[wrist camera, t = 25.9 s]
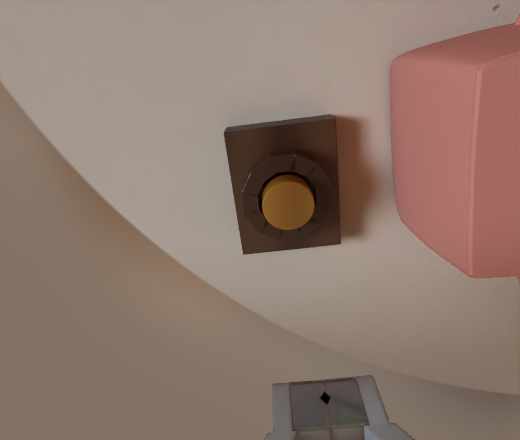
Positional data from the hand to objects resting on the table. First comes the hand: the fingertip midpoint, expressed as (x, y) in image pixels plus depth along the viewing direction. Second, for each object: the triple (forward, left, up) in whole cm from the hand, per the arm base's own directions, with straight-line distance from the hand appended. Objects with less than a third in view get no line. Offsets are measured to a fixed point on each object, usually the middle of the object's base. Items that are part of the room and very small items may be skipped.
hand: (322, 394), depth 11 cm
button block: (0, 0, -21) cm, 21 cm away
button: (0, 0, -18) cm, 18 cm away
